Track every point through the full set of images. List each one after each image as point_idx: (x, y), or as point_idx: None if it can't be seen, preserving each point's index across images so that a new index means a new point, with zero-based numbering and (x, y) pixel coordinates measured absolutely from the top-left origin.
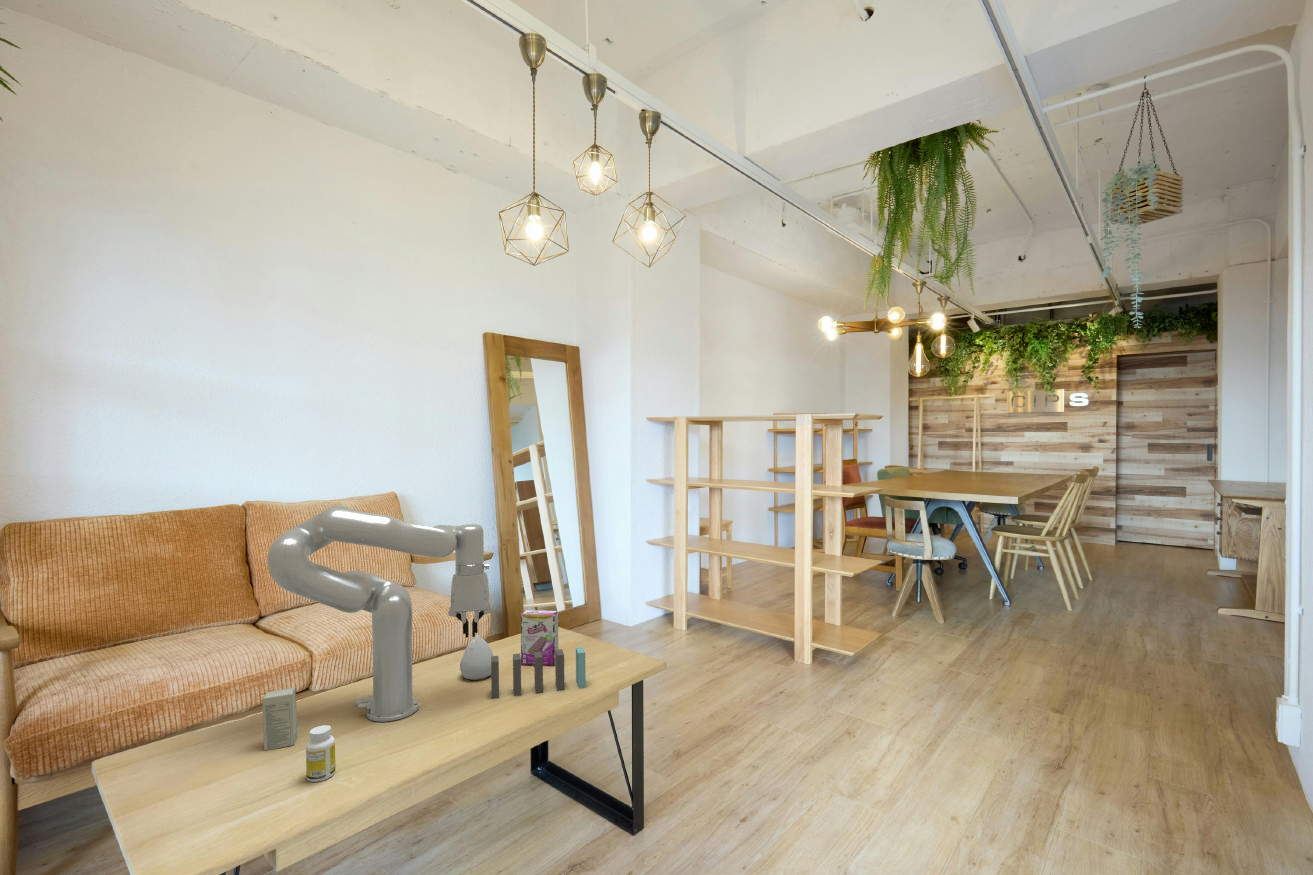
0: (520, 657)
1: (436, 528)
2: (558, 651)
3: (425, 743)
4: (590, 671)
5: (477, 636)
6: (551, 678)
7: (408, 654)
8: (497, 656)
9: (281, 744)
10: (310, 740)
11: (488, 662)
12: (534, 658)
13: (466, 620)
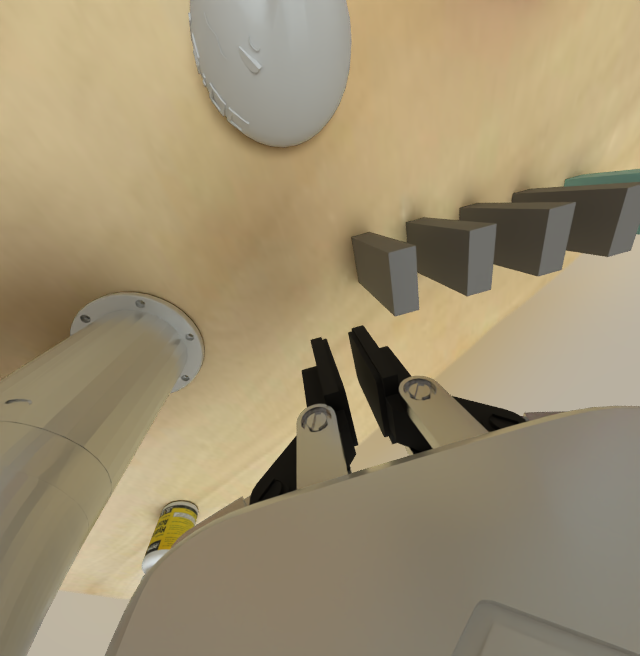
0: (491, 270)
1: None
2: (629, 211)
3: (285, 442)
4: (631, 87)
5: None
6: (511, 143)
7: (115, 477)
8: (412, 256)
9: None
10: (145, 573)
11: (334, 104)
12: (527, 219)
13: (349, 458)
